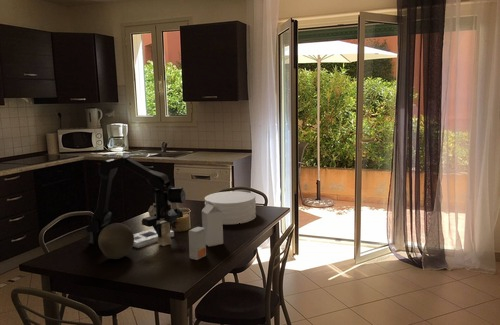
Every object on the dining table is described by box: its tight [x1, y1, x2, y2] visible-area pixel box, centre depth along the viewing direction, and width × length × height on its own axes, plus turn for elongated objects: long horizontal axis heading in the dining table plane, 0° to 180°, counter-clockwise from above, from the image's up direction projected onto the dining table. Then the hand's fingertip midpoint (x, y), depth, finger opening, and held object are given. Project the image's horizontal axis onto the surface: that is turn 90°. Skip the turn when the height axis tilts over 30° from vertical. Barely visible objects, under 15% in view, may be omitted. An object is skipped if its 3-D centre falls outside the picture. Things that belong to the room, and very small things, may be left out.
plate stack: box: [204, 190, 257, 225], centre depth 219 cm, size 28×28×12 cm
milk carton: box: [201, 201, 224, 247], centre depth 177 cm, size 7×7×19 cm
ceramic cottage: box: [147, 201, 180, 222], centre depth 220 cm, size 16×16×15 cm
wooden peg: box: [157, 221, 172, 247], centre depth 177 cm, size 4×4×10 cm
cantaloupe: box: [98, 222, 134, 260], centre depth 162 cm, size 14×14×15 cm
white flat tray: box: [132, 227, 175, 249], centre depth 186 cm, size 20×12×3 cm, turn 138°
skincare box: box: [188, 226, 207, 261], centre depth 162 cm, size 6×4×12 cm
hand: (164, 236), depth 178 cm, fingers closed on wooden peg, 4 cm apart
